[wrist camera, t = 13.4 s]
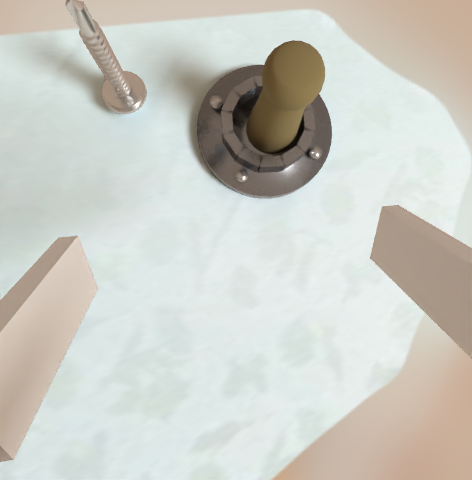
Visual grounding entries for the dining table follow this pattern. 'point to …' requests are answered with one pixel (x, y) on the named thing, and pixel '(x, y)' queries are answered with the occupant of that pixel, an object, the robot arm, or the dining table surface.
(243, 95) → the flange
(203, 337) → the dining table surface
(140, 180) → the dining table surface
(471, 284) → the robot arm
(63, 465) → the dining table surface
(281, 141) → the cork
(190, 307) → the dining table surface
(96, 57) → the screw
